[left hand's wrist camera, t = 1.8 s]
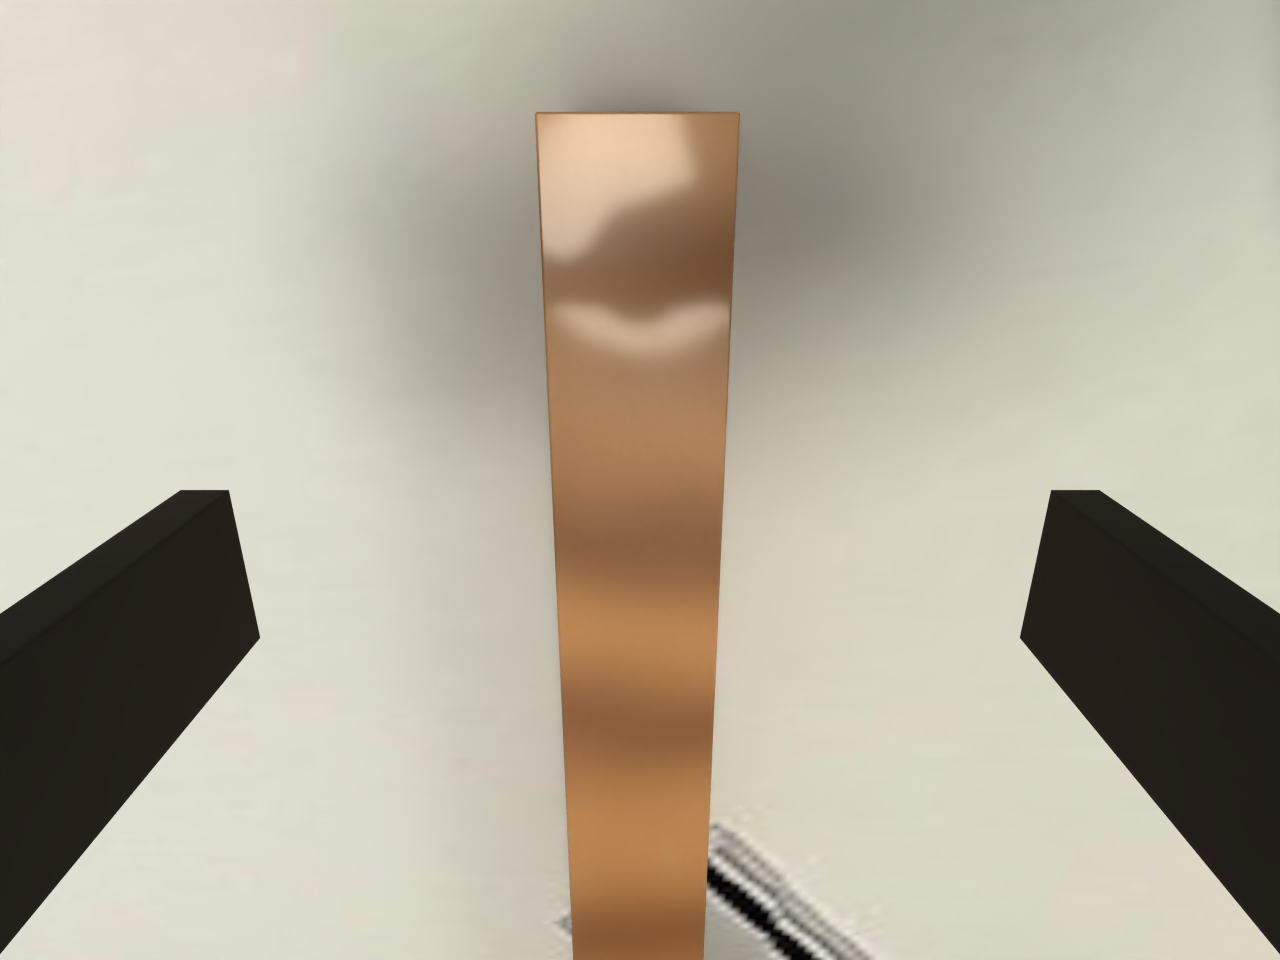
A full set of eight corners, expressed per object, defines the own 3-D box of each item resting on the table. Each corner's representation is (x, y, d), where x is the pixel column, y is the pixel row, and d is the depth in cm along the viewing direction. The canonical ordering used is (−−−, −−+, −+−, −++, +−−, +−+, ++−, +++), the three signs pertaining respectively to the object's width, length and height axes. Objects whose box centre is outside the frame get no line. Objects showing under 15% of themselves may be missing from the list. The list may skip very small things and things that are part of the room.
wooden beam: (562, 128, 29) (534, 111, 21) (713, 128, 29) (740, 111, 21) (596, 1153, 52) (589, 1320, 45) (680, 1153, 52) (687, 1320, 45)
